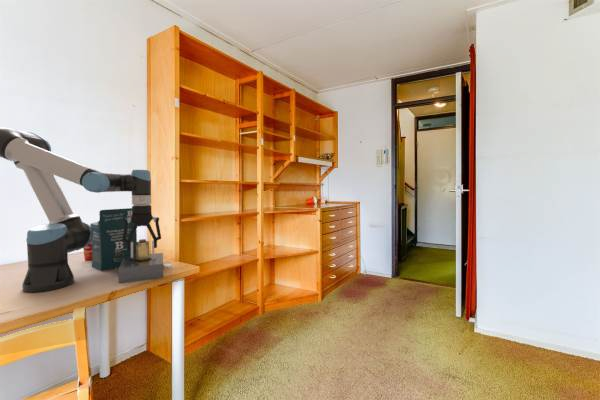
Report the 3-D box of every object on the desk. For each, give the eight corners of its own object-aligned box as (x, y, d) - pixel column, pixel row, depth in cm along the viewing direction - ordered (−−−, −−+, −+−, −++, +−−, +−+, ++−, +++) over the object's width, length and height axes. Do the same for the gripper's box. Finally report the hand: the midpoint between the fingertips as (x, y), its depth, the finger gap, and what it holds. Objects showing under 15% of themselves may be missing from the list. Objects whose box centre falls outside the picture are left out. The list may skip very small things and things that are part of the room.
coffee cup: (78, 260, 150) (77, 231, 150) (93, 256, 158) (92, 229, 157) (90, 261, 148) (89, 232, 147) (105, 257, 156) (104, 230, 155)
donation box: (101, 271, 132) (99, 210, 130) (88, 265, 141) (86, 208, 140) (138, 263, 144) (137, 207, 143) (124, 258, 154) (123, 206, 153)
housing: (118, 283, 116) (118, 268, 115) (125, 268, 136) (124, 256, 135) (163, 277, 123) (162, 263, 122) (163, 265, 142) (162, 252, 142)
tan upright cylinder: (136, 271, 125) (135, 241, 125) (137, 267, 130) (136, 239, 130) (149, 269, 128) (148, 240, 127) (149, 266, 132) (149, 238, 132)
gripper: (113, 206, 120) (114, 260, 121) (167, 204, 129) (168, 255, 130) (115, 205, 127) (117, 256, 128) (167, 203, 135) (168, 252, 136)
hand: (142, 256), depth 129 cm, fingers open, 8 cm apart
